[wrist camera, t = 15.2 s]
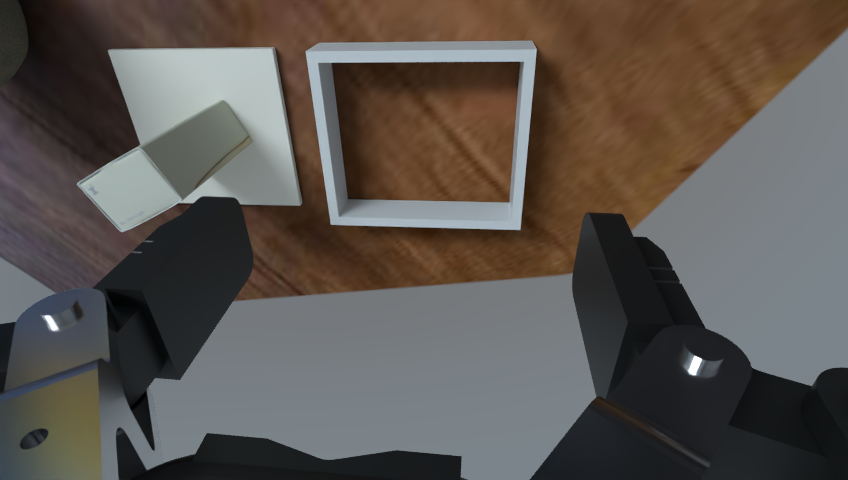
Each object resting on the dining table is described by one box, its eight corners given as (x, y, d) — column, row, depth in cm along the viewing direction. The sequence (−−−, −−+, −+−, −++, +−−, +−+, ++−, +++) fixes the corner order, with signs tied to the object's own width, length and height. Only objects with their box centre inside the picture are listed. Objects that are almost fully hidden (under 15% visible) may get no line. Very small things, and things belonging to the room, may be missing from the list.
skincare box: (203, 168, 45) (120, 236, 34) (170, 126, 43) (72, 184, 32) (256, 140, 43) (184, 203, 32) (224, 94, 41) (137, 146, 30)
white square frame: (319, 42, 38) (305, 51, 35) (532, 40, 37) (536, 49, 34) (340, 206, 46) (330, 224, 43) (517, 210, 44) (520, 230, 41)
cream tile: (112, 48, 40) (107, 50, 40) (274, 47, 39) (272, 48, 38) (164, 199, 48) (160, 202, 47) (302, 202, 46) (300, 205, 46)
